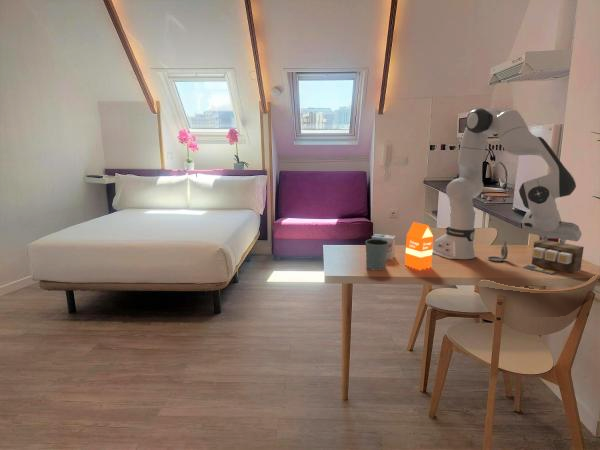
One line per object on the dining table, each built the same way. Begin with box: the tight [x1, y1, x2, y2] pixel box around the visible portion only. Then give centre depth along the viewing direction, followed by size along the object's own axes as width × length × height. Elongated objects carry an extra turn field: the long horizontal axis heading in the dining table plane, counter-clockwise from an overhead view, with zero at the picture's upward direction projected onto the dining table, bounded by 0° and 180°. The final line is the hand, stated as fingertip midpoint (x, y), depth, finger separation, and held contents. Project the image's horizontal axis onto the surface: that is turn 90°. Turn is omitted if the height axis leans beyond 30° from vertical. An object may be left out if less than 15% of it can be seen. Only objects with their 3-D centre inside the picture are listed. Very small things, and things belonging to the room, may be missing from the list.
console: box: [531, 239, 585, 274], centre depth 185 cm, size 17×8×10 cm, turn 38°
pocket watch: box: [487, 240, 508, 263], centre depth 194 cm, size 8×8×10 cm
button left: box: [531, 246, 548, 259], centre depth 186 cm, size 4×7×4 cm, turn 128°
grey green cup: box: [365, 238, 388, 271], centre depth 184 cm, size 10×10×12 cm
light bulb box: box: [371, 233, 396, 261], centre depth 200 cm, size 11×7×11 cm, turn 68°
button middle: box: [545, 249, 560, 261], centre depth 182 cm, size 4×7×4 cm, turn 128°
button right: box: [557, 251, 574, 264], centre depth 178 cm, size 4×7×4 cm, turn 128°
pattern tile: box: [522, 264, 558, 276], centre depth 181 cm, size 12×5×1 cm, turn 38°
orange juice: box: [404, 221, 434, 271], centre depth 184 cm, size 8×9×20 cm
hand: (554, 240), depth 166 cm, fingers open, 5 cm apart
